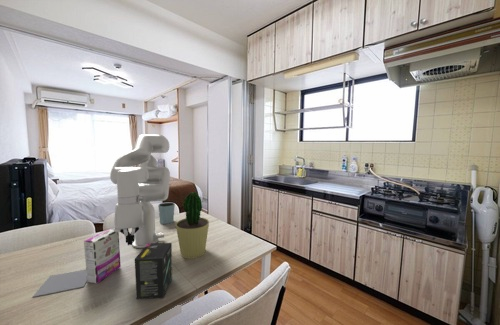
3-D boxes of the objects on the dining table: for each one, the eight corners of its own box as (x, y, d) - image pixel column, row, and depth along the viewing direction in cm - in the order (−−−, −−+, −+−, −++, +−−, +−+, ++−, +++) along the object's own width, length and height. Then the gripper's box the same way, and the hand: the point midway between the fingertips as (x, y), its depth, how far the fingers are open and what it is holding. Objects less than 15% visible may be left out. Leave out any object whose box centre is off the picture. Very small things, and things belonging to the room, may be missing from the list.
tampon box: (148, 279, 81) (147, 242, 79) (172, 278, 81) (172, 242, 80) (135, 300, 70) (133, 258, 68) (163, 298, 70) (162, 257, 69)
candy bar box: (111, 265, 89) (109, 228, 87) (121, 267, 88) (119, 229, 86) (85, 282, 78) (83, 240, 77) (96, 284, 77) (94, 241, 76)
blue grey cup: (155, 223, 136) (155, 205, 135) (164, 218, 146) (163, 201, 145) (169, 225, 134) (169, 206, 133) (177, 219, 144) (177, 202, 143)
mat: (93, 268, 86) (93, 268, 86) (83, 287, 75) (83, 286, 75) (50, 276, 81) (50, 275, 81) (32, 297, 70) (32, 296, 70)
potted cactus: (195, 241, 112) (194, 186, 109) (215, 250, 103) (215, 190, 100) (169, 253, 99) (168, 191, 97) (190, 264, 90) (189, 197, 88)
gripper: (149, 196, 90) (150, 237, 92) (109, 199, 85) (110, 242, 86) (148, 200, 83) (150, 244, 85) (104, 204, 78) (106, 251, 79)
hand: (130, 243), depth 86 cm, fingers closed
